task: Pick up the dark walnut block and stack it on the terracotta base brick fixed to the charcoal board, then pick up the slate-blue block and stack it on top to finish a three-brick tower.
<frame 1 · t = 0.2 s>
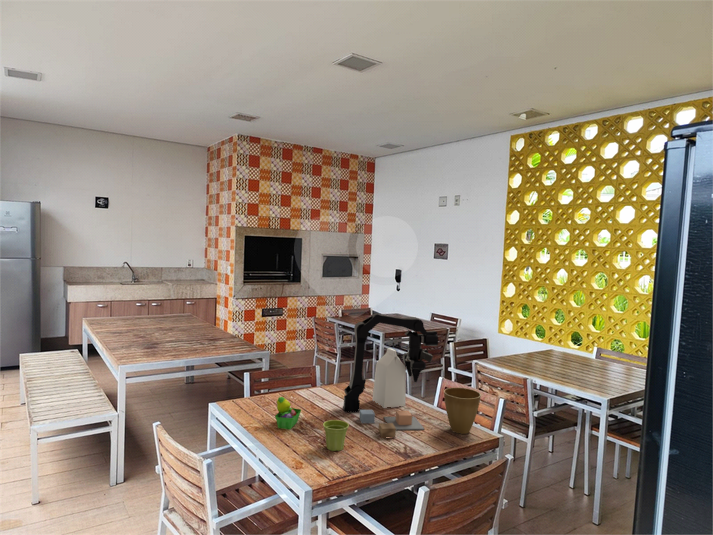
hand: (412, 379, 217), 15 cm above the table, tool pointing down, fingers open, 9 cm apart
plant pot 2: (334, 448, 172), on the table
walnut block: (386, 435, 187), on the table
plant pot: (459, 431, 196), on the table
fruit basket: (286, 425, 192), on the table
slate block: (366, 421, 202), on the table
milk: (388, 403, 227), on the table, touching gripper
tower base: (403, 423, 200), on the table
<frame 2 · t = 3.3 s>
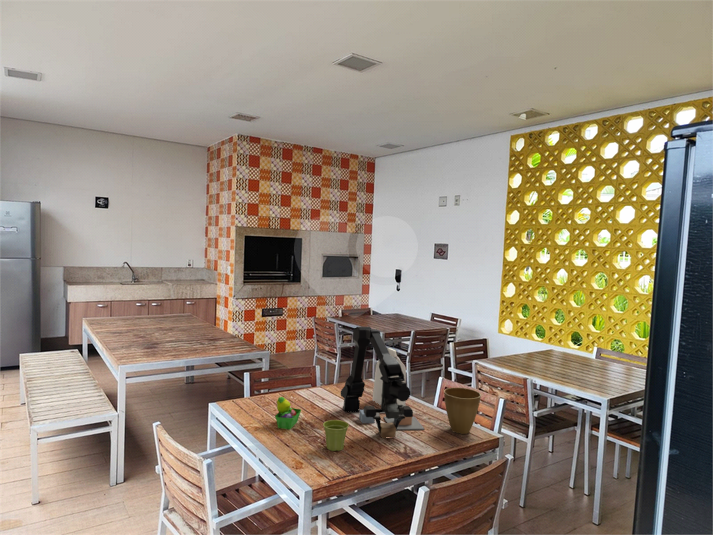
hand: (386, 432, 187), 1 cm above the table, tool pointing down, fingers closed on walnut block, 5 cm apart
walnut block: (386, 435, 187), on the table, touching gripper
milk: (388, 403, 227), on the table
everything else where it was.
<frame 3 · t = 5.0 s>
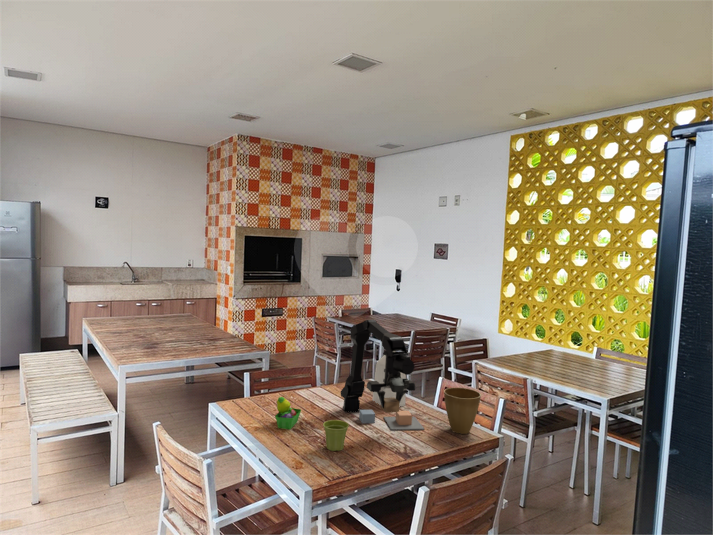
hand: (389, 407, 188), 11 cm above the table, tool pointing down, fingers closed on walnut block, 5 cm apart
walnut block: (389, 409, 188), point 10 cm above the table, touching gripper
everything else where it was.
when the fingers open (7 cm above the table, at t = 7.0 s): walnut block stays where it is, resting on tower base.
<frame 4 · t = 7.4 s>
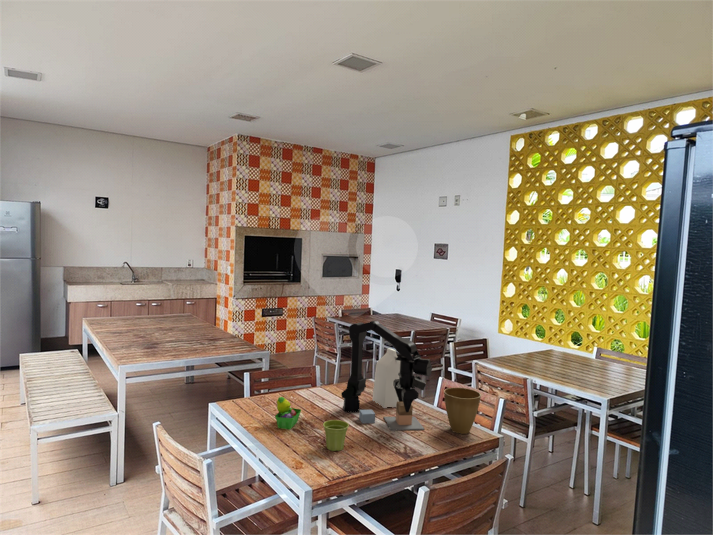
hand: (404, 408, 200), 7 cm above the table, tool pointing down, fingers open, 9 cm apart
walnut block: (404, 413, 200), point 5 cm above the table, touching tower base
everything else where it was.
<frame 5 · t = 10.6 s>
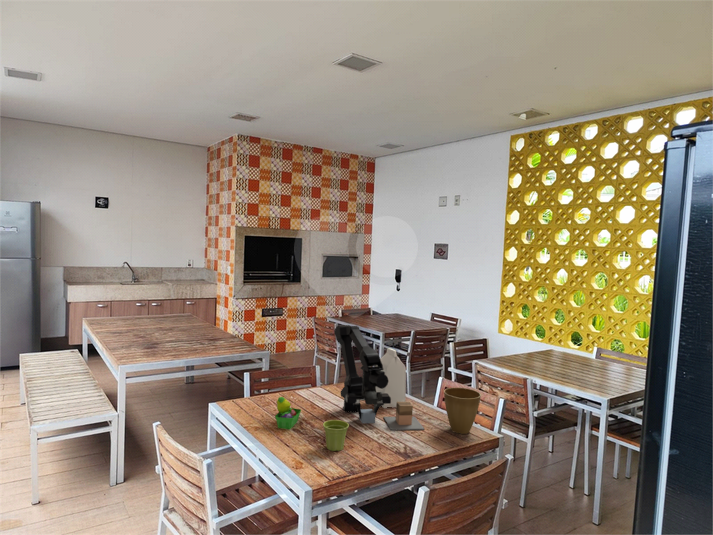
hand: (367, 418, 202), 1 cm above the table, tool pointing down, fingers closed on slate block, 6 cm apart
slate block: (366, 420, 202), on the table, touching gripper
everything else where it was.
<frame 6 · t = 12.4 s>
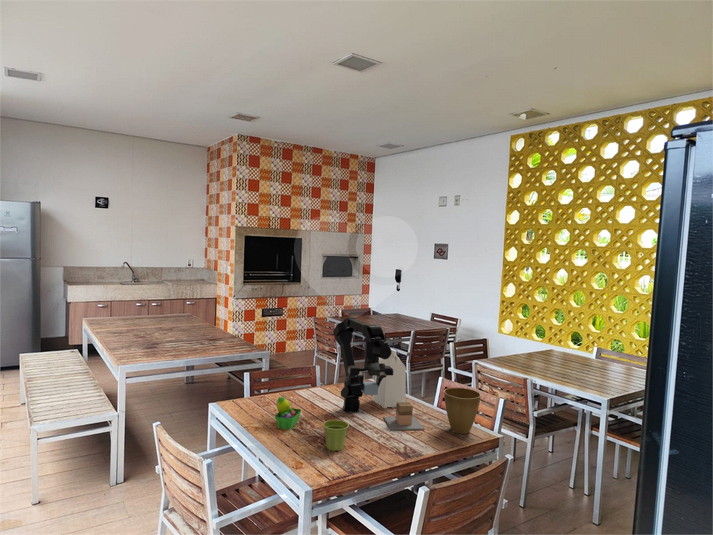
hand: (369, 390, 201), 13 cm above the table, tool pointing down, fingers closed on slate block, 6 cm apart
slate block: (369, 393, 201), point 12 cm above the table, touching gripper
everything else where it was.
when the fingers open (11 cm above the table, at t = 14.2 s): slate block stays where it is, resting on walnut block.
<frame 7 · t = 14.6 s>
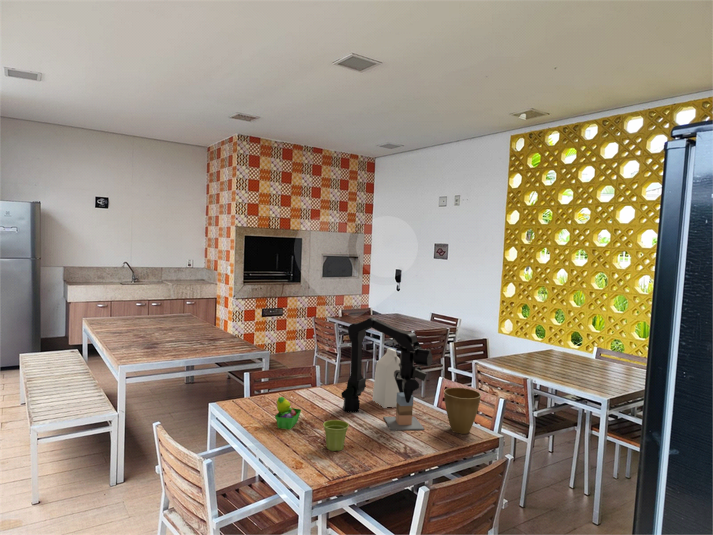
hand: (404, 399, 200), 11 cm above the table, tool pointing down, fingers open, 9 cm apart
walnut block: (404, 413, 200), point 5 cm above the table, touching slate block, tower base
slate block: (404, 403, 200), point 9 cm above the table, touching walnut block
everything else where it was.
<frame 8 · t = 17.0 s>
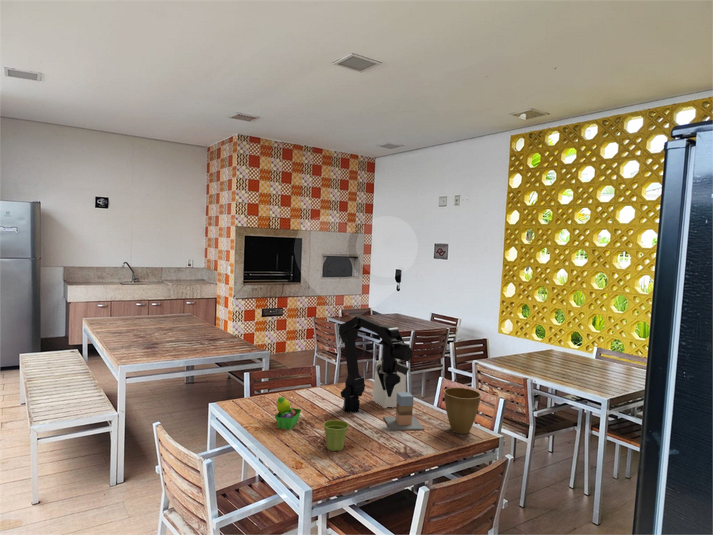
hand: (386, 393, 199), 13 cm above the table, tool pointing down, fingers open, 9 cm apart
nothing on the table moved.
at the end: walnut block 0.0 cm off-centre on the tower base, point 4.6 cm above the tower base's base; slate block 0.0 cm off-centre on the tower base, point 8.6 cm above the tower base's base; slate block tilted 0° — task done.
